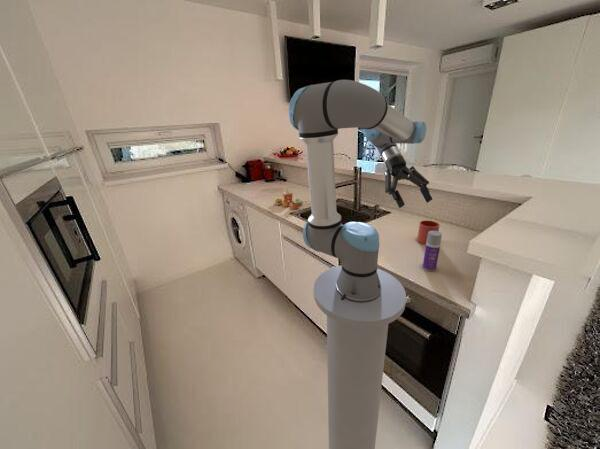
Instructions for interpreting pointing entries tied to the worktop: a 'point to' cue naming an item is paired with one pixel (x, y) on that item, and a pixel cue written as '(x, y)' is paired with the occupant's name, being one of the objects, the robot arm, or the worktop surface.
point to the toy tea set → (288, 200)
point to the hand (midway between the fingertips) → (416, 203)
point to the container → (432, 250)
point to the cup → (426, 230)
